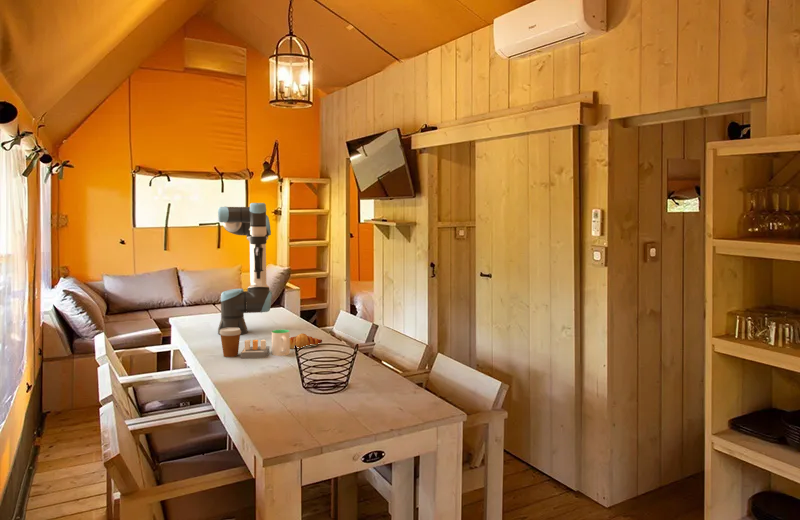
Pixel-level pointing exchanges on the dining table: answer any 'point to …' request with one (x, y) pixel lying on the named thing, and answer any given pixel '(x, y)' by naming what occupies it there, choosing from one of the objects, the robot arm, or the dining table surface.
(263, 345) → the paddle
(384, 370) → the dining table surface
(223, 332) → the disposable coffee cup
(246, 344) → the paddle
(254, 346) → the paddle
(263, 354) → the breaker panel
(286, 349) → the mug
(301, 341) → the croissant
